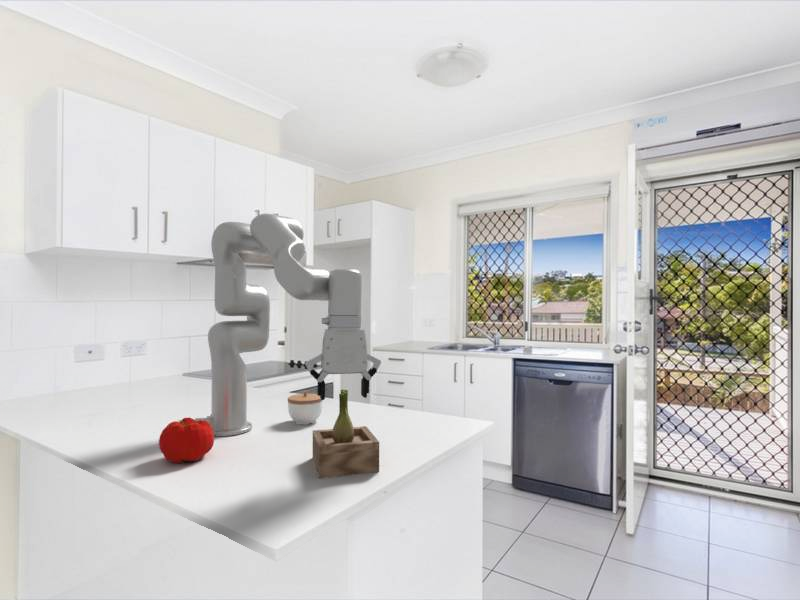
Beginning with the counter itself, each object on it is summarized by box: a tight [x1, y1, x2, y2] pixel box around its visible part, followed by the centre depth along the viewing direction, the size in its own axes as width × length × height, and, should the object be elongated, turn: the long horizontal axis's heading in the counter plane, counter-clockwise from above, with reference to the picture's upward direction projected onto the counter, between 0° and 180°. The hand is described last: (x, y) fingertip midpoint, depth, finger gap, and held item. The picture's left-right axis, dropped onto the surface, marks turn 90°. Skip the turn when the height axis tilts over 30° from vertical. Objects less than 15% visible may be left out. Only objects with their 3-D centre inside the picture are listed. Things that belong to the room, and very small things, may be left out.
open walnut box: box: [312, 425, 380, 479], centre depth 102 cm, size 13×13×6 cm
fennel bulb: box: [332, 389, 354, 443], centre depth 102 cm, size 6×5×12 cm
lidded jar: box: [287, 390, 323, 425], centre depth 139 cm, size 11×11×9 cm
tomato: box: [158, 417, 215, 464], centre depth 106 cm, size 11×12×9 cm
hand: (343, 397), depth 102 cm, fingers open, 9 cm apart
